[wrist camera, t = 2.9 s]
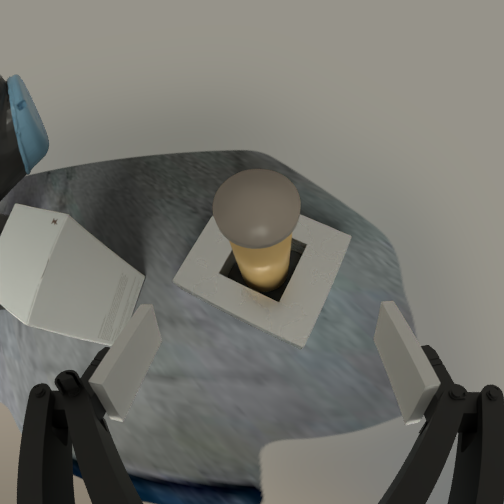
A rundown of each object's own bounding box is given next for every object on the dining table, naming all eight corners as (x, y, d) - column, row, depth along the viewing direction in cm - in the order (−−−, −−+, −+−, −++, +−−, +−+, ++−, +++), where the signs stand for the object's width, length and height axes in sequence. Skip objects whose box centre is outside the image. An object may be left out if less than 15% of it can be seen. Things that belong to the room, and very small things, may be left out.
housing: (181, 289, 31) (172, 281, 28) (234, 201, 34) (230, 187, 32) (300, 349, 27) (303, 347, 25) (345, 248, 31) (351, 236, 28)
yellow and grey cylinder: (227, 281, 31) (196, 222, 19) (253, 236, 32) (238, 159, 21) (277, 305, 29) (277, 258, 17) (301, 257, 31) (313, 186, 19)
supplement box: (91, 258, 33) (15, 198, 20) (147, 276, 32) (70, 210, 18) (68, 324, 30) (-22, 288, 16) (122, 350, 29) (25, 326, 15)
